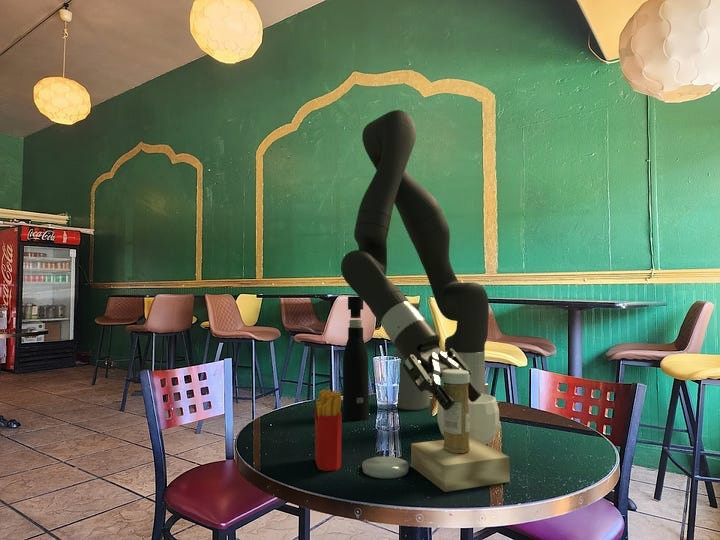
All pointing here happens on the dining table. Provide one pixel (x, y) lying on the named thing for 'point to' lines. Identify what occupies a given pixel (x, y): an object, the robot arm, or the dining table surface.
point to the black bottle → (355, 367)
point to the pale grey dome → (385, 467)
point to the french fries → (328, 430)
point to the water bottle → (410, 386)
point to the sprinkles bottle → (456, 411)
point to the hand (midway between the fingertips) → (464, 402)
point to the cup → (479, 418)
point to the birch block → (460, 465)
